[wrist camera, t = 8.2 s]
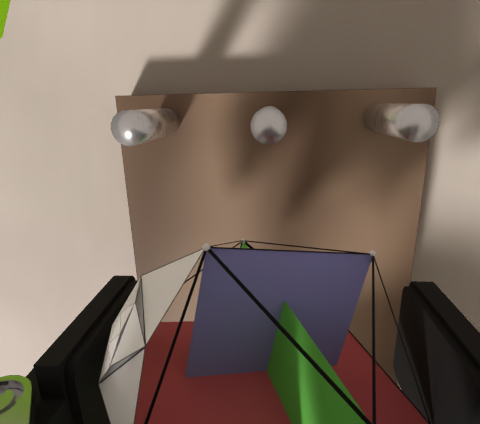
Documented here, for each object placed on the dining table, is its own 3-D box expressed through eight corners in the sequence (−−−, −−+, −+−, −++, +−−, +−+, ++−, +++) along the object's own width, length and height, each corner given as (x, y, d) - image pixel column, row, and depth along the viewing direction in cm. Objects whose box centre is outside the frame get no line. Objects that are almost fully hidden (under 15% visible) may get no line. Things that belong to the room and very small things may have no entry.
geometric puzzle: (505, 272, 9) (415, 535, 3) (413, 470, 11) (248, 866, 5) (274, 187, 13) (37, 215, 7) (240, 341, 15) (37, 465, 9)
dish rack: (419, 88, 14) (436, 87, 13) (367, 522, 21) (374, 552, 20) (129, 96, 15) (115, 95, 14) (174, 507, 23) (168, 534, 21)
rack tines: (392, 103, 13) (442, 103, 9) (347, 544, 20) (365, 647, 16) (154, 108, 14) (108, 110, 10) (192, 530, 21) (174, 626, 17)
